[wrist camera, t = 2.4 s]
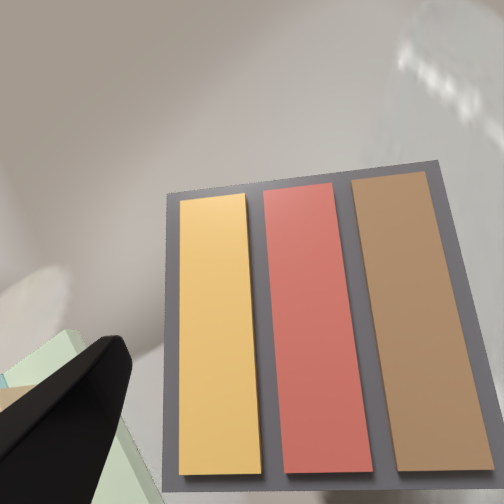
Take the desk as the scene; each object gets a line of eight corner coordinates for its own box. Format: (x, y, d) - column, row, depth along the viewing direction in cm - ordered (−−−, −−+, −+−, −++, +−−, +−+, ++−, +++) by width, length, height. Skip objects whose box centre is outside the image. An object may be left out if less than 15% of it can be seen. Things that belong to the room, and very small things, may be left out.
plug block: (364, 390, 14) (528, 493, 4) (260, 394, 15) (157, 496, 4) (349, 286, 16) (441, 154, 5) (254, 294, 16) (162, 189, 6)
